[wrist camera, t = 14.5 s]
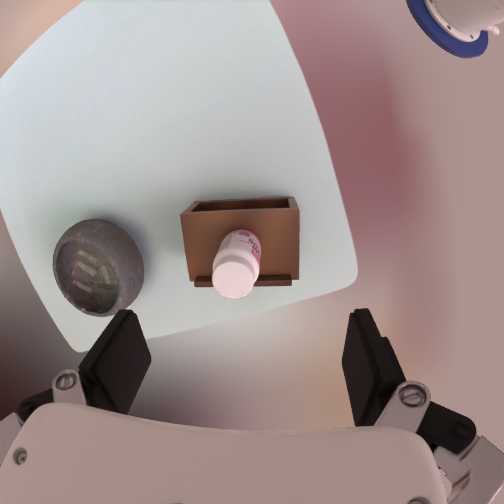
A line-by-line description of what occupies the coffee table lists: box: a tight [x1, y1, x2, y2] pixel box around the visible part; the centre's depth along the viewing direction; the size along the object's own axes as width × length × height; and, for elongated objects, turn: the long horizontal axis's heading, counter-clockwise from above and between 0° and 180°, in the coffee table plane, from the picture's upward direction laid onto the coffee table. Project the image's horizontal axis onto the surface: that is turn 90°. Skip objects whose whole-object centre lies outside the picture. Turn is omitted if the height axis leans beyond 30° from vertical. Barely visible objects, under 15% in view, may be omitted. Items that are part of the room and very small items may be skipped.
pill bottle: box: [212, 230, 261, 299], centre depth 30 cm, size 5×5×8 cm
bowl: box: [53, 219, 144, 317], centre depth 39 cm, size 15×15×10 cm
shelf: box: [180, 197, 300, 287], centre depth 37 cm, size 14×9×8 cm, turn 93°
